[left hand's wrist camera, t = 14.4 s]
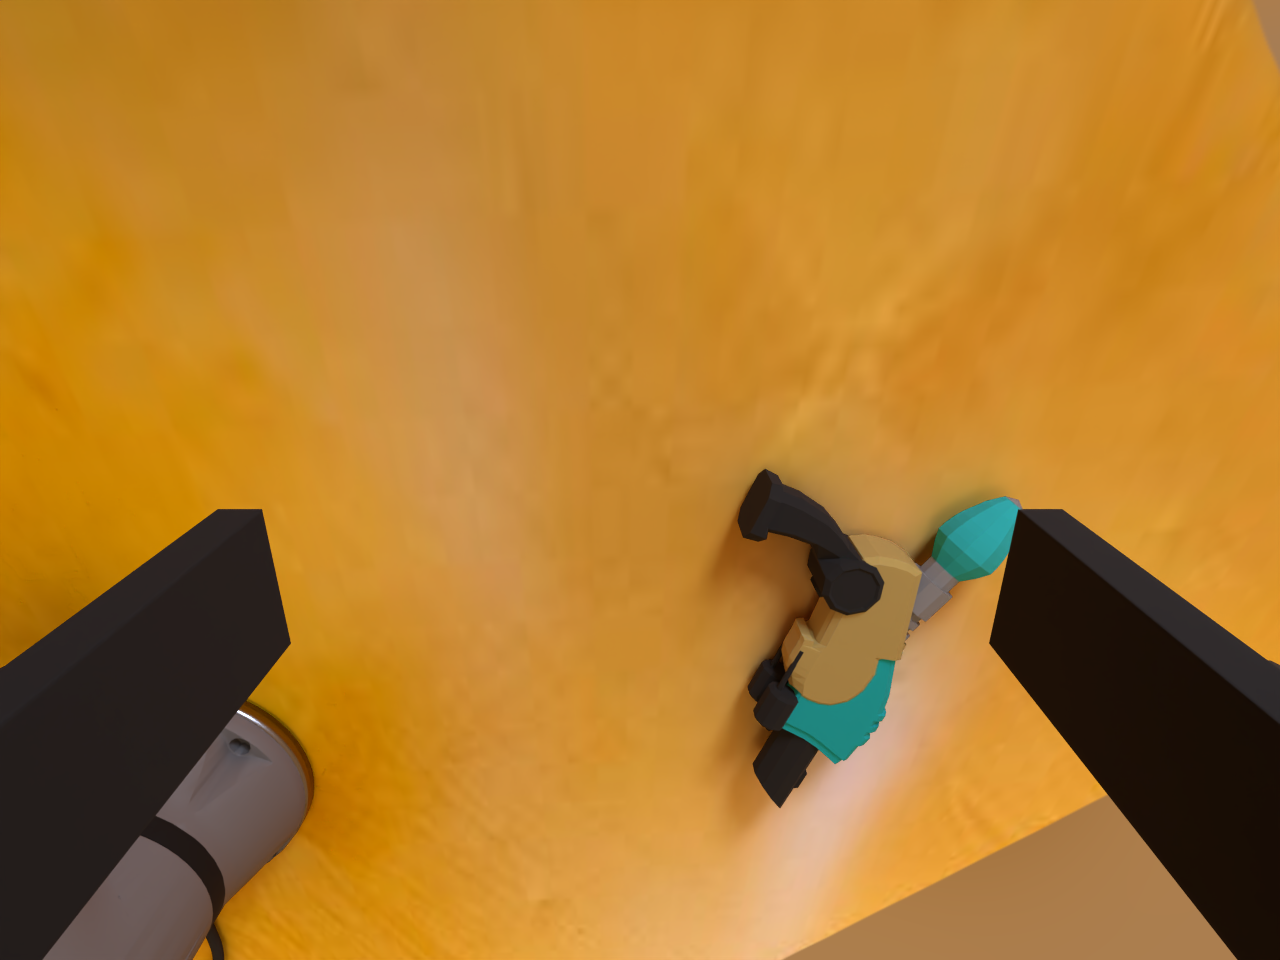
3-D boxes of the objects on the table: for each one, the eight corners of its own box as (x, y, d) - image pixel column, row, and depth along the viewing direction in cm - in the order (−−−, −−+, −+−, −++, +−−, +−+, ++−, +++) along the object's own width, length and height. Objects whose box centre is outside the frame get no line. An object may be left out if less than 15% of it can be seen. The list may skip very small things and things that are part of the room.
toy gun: (621, 775, 45) (827, 844, 48) (814, 418, 37) (1054, 522, 39) (622, 728, 49) (811, 792, 52) (796, 397, 41) (1013, 491, 43)
